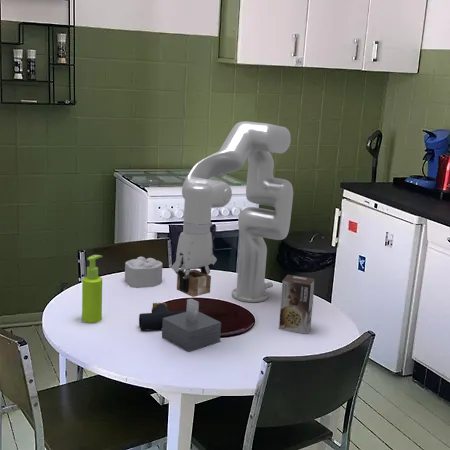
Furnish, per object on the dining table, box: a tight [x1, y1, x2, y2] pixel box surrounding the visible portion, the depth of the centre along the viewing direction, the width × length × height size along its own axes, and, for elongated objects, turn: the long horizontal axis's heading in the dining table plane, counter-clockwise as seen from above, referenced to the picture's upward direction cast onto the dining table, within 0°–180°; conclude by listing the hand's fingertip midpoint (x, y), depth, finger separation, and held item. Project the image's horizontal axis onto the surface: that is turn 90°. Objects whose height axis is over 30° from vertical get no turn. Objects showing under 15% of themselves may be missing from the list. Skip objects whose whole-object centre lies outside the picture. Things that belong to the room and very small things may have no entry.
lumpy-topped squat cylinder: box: [124, 256, 163, 289], centre depth 235 cm, size 10×13×9 cm
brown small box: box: [176, 268, 212, 298], centre depth 186 cm, size 6×7×5 cm
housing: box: [161, 298, 222, 353], centre depth 189 cm, size 12×12×12 cm
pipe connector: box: [138, 302, 186, 331], centre depth 200 cm, size 12×5×15 cm
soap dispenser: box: [81, 254, 104, 324], centre depth 198 cm, size 6×7×20 cm
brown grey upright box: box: [278, 274, 316, 335], centre depth 201 cm, size 9×6×16 cm
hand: (193, 288), depth 186 cm, fingers closed on brown small box, 6 cm apart
